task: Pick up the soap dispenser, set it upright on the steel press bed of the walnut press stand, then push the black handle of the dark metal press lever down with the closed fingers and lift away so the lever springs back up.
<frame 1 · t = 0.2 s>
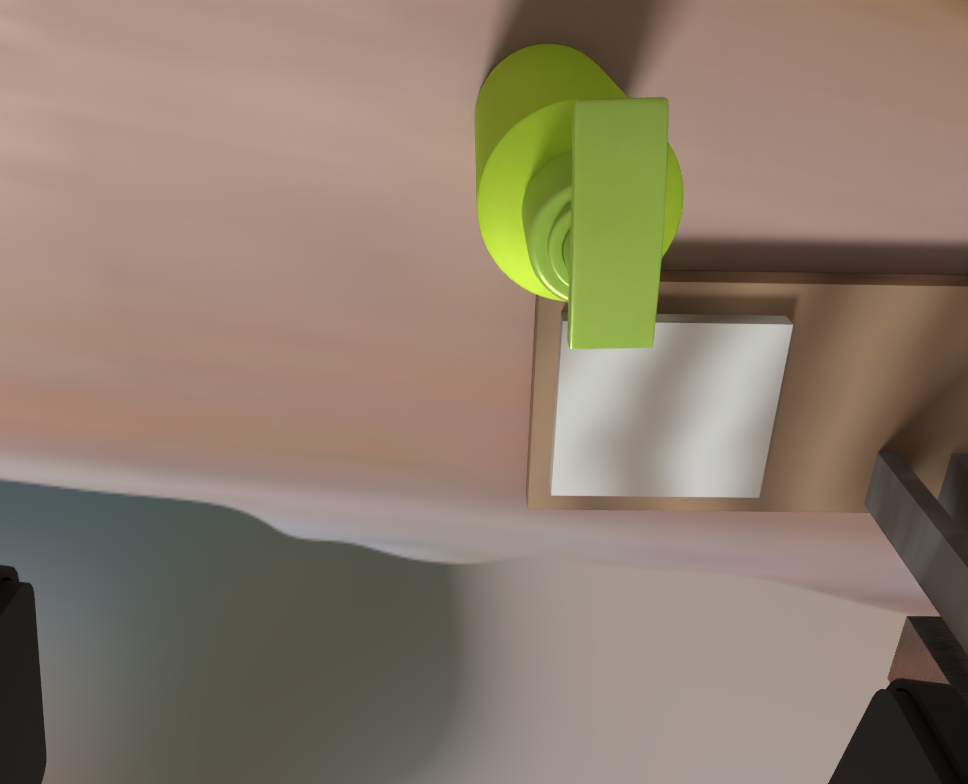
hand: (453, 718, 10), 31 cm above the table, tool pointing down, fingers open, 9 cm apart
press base: (780, 390, 43), on the table
soap dispenser: (545, 105, 37), on the table
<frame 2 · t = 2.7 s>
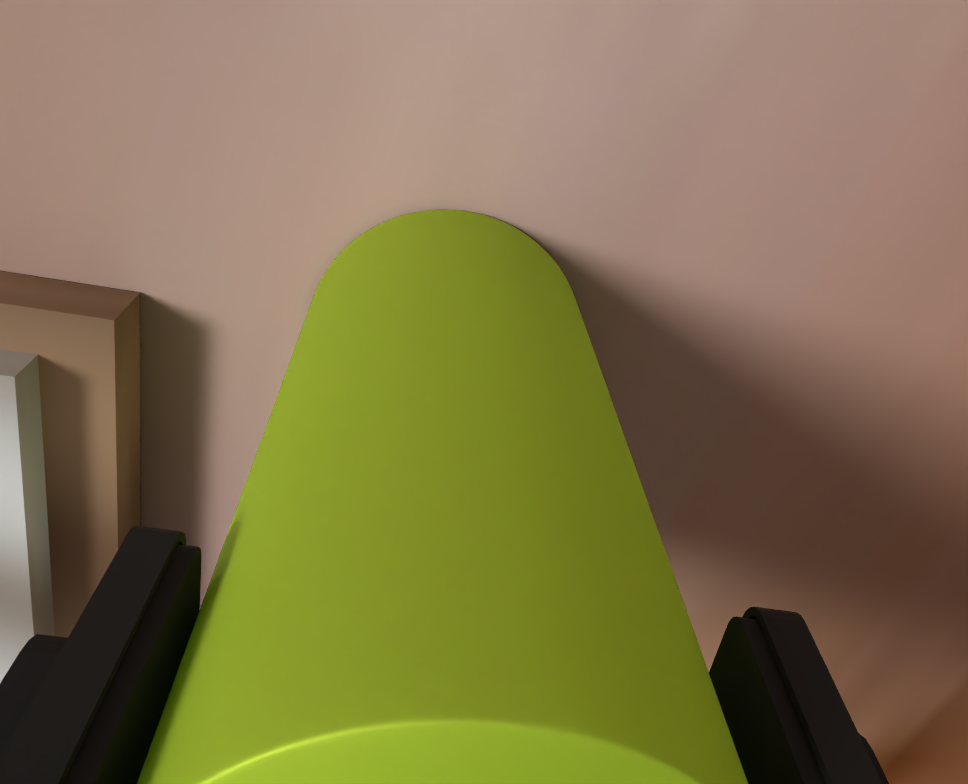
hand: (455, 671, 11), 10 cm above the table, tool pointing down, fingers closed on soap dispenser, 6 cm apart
soap dispenser: (468, 341, 19), on the table, touching gripper
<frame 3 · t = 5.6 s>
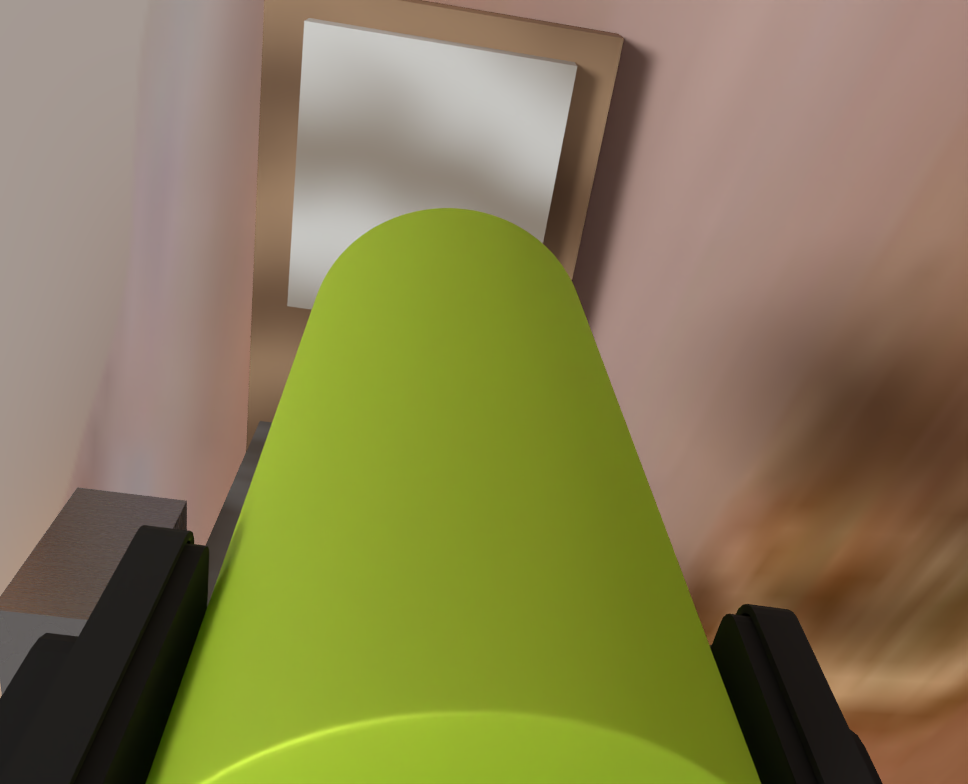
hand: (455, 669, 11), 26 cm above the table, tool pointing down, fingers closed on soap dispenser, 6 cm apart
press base: (408, 321, 36), on the table
press lever: (401, 656, 29), point 12 cm above the table, hinge at 0.0°
soap dispenser: (471, 339, 19), point 16 cm above the table, touching gripper
when the fingers open (13 cm above the table, at t = 8.5 s): soap dispenser drops 1 cm, resting on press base.
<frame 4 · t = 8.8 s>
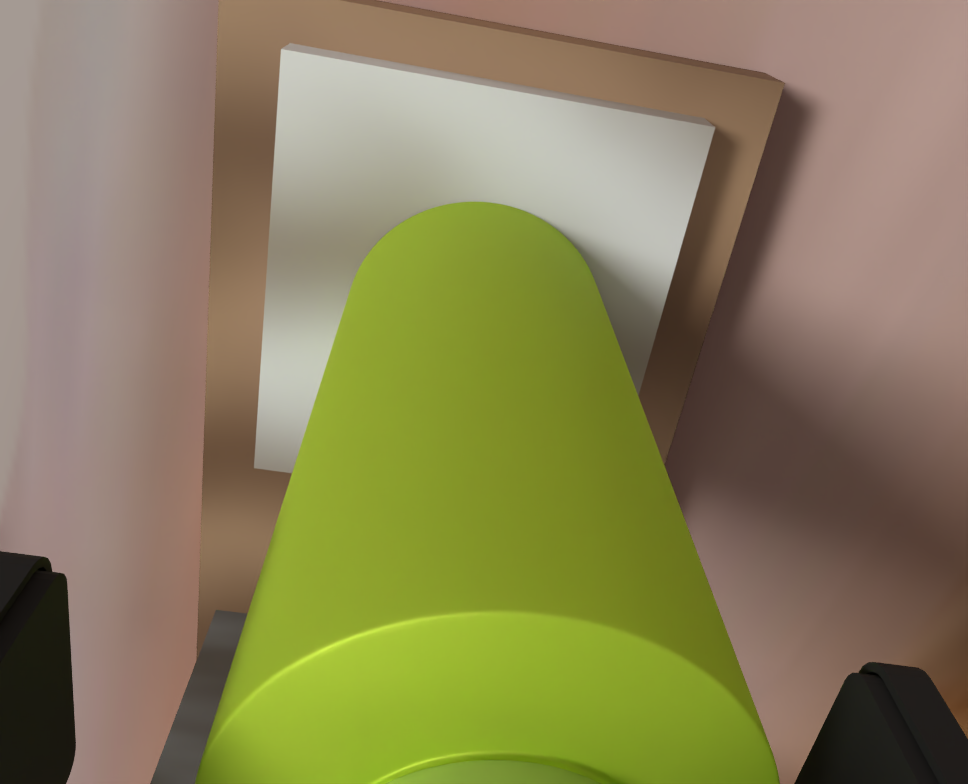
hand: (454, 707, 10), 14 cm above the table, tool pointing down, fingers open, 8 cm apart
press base: (430, 472, 25), on the table
soap dispenser: (496, 325, 21), point 2 cm above the table, touching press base
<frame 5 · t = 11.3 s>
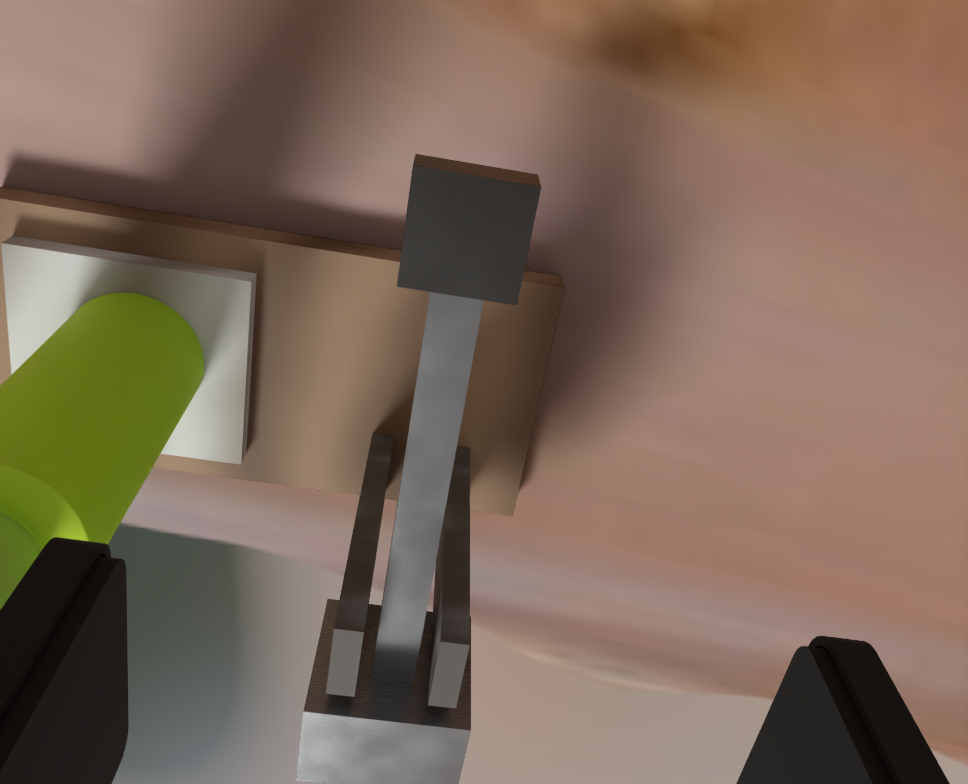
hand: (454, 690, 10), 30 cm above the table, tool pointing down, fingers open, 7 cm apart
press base: (280, 357, 41), on the table
press lever: (422, 492, 31), point 12 cm above the table, hinge at 0.0°
soap dispenser: (135, 343, 38), point 2 cm above the table, touching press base
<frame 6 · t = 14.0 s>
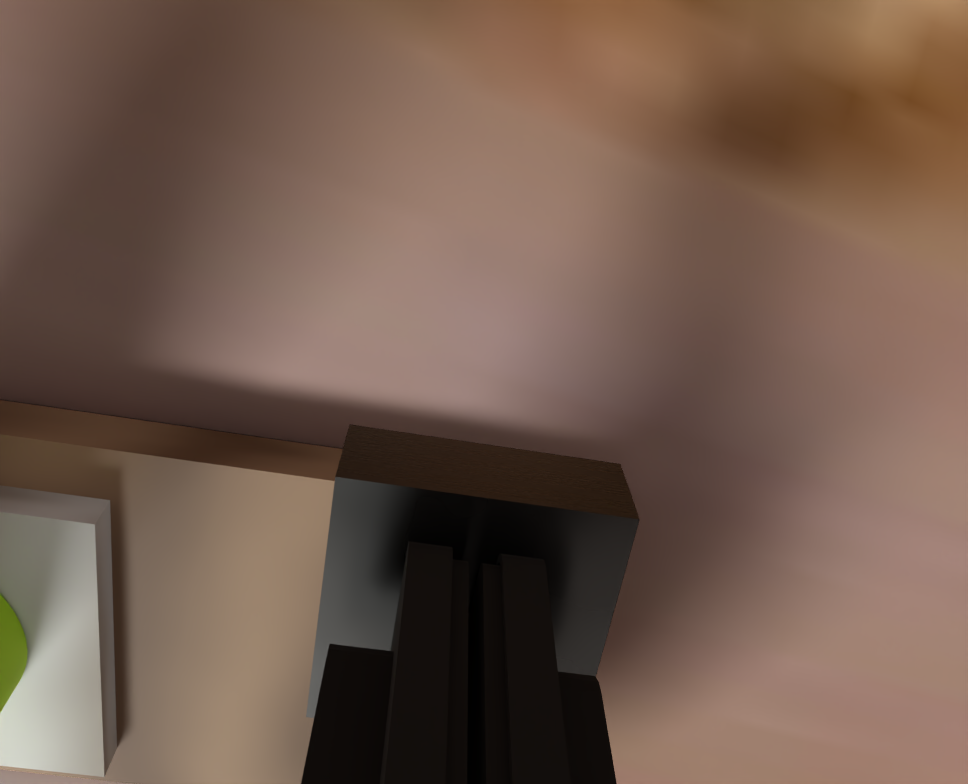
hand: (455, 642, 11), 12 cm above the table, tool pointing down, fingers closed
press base: (168, 602, 26), on the table
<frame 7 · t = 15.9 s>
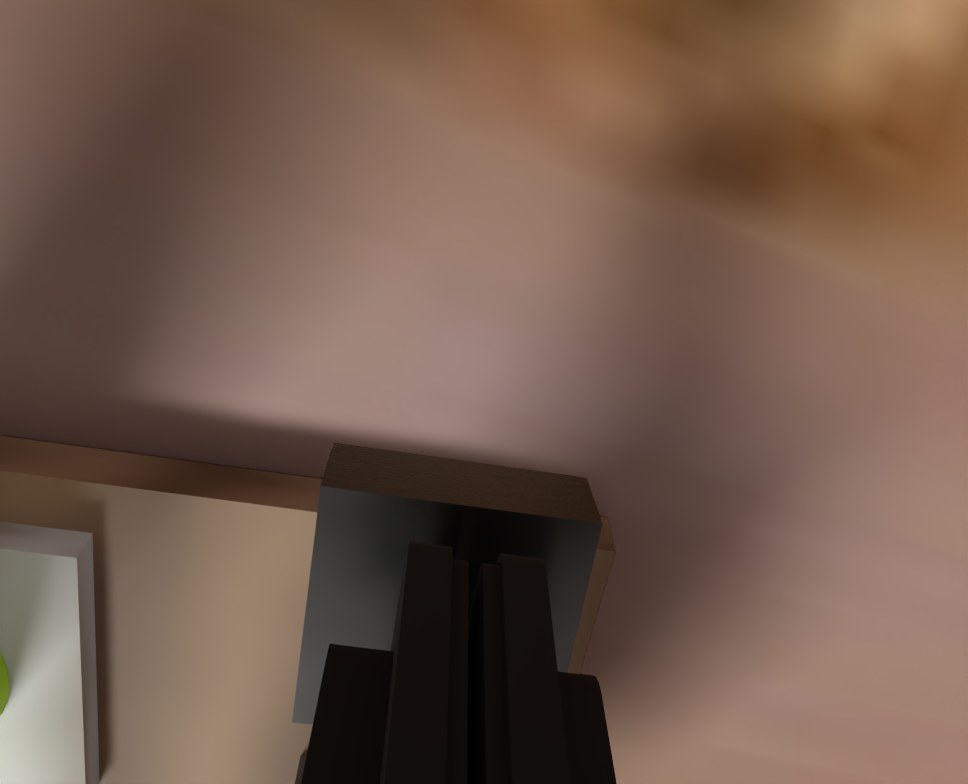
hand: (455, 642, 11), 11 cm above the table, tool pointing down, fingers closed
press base: (151, 634, 25), on the table
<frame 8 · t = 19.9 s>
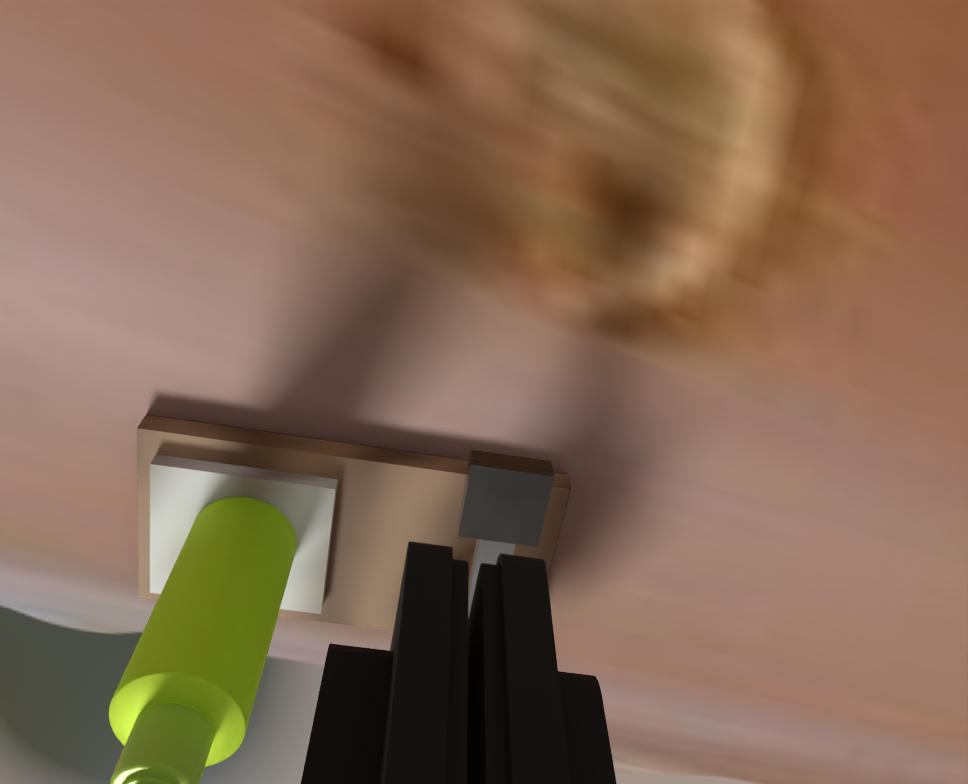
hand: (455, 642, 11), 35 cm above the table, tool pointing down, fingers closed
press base: (350, 530, 53), on the table
press lever: (468, 664, 43), point 11 cm above the table, hinge at 4.6°
soap dispenser: (245, 529, 50), point 2 cm above the table, touching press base
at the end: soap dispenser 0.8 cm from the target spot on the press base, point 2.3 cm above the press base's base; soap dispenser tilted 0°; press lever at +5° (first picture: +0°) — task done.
